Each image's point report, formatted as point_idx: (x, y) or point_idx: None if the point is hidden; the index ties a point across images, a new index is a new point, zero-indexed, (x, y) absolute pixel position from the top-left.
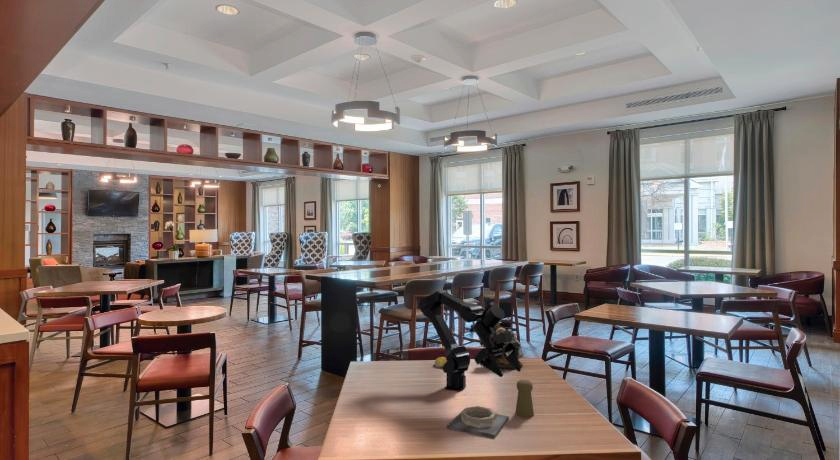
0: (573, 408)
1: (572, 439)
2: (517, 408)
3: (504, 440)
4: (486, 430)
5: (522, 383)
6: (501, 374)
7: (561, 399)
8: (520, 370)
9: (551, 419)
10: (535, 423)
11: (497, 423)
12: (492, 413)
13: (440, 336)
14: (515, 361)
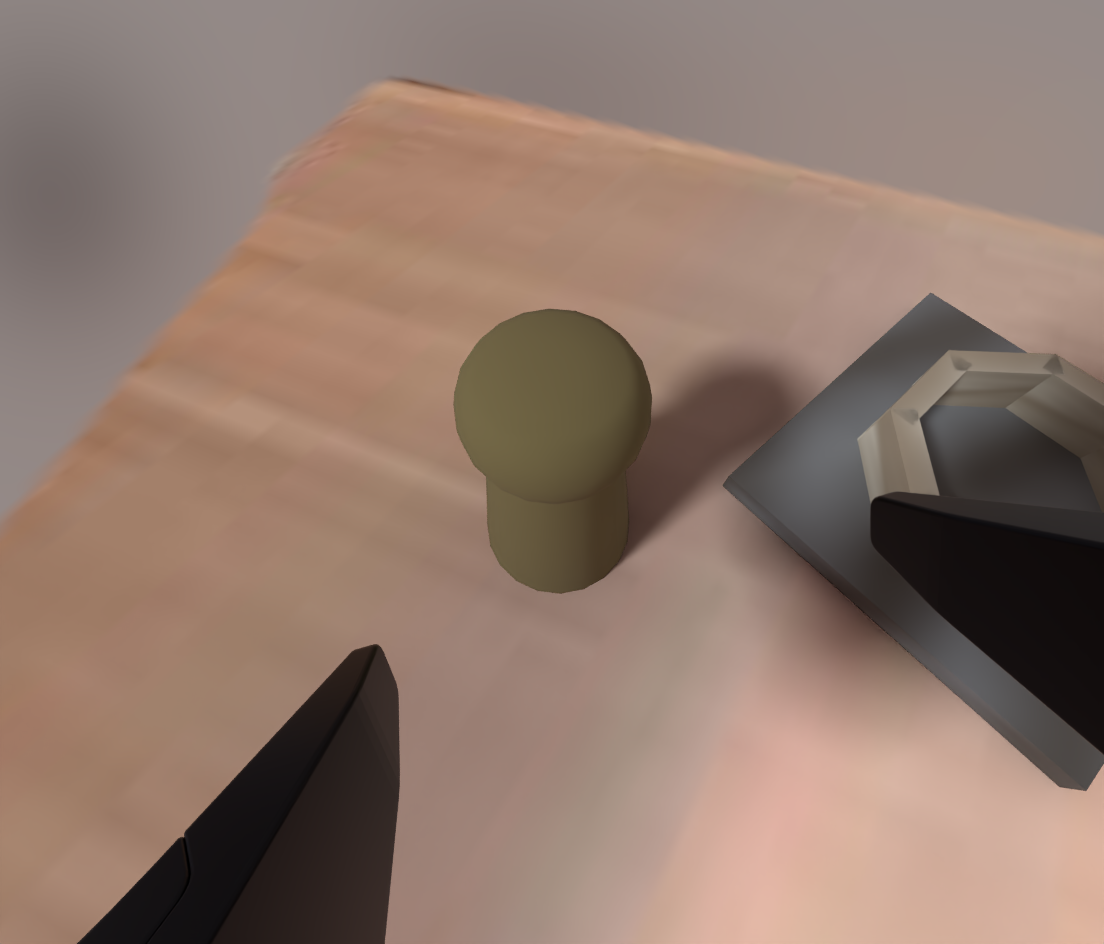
0: (154, 479)
1: (525, 192)
2: (627, 505)
3: (871, 275)
4: (970, 348)
5: (615, 338)
6: (918, 496)
7: (37, 677)
8: (371, 648)
9: (445, 390)
10: None
11: (862, 406)
12: (925, 411)
13: None
14: (304, 850)
